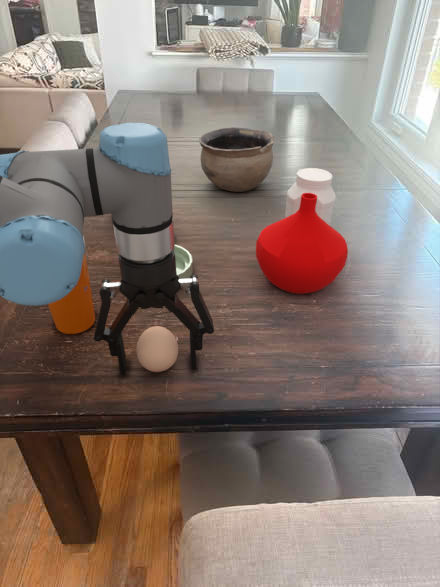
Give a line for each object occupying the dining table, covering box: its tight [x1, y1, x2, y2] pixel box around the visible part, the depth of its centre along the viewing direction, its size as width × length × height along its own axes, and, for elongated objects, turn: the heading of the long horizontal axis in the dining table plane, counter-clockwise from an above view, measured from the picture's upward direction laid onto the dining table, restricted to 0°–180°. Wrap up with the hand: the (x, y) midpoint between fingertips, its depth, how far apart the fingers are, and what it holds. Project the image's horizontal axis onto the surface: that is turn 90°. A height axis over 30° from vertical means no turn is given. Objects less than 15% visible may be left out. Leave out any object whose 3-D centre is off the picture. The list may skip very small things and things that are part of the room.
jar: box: [284, 167, 337, 226], centre depth 101 cm, size 12×10×15 cm
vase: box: [255, 193, 349, 295], centre depth 83 cm, size 18×18×19 cm
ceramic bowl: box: [198, 126, 275, 193], centre depth 123 cm, size 22×22×15 cm
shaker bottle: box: [47, 235, 96, 335], centre depth 70 cm, size 9×9×20 cm
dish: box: [174, 244, 194, 279], centre depth 88 cm, size 14×14×4 cm
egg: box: [135, 325, 179, 373], centre depth 66 cm, size 7×7×8 cm
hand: (158, 364), depth 68 cm, fingers open, 11 cm apart
